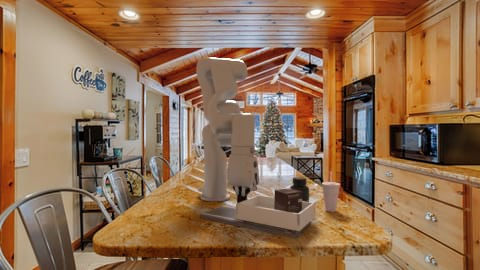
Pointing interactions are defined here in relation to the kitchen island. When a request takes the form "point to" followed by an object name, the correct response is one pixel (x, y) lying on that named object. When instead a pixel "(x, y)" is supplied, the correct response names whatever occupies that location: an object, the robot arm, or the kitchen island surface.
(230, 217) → the rail board
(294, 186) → the supplement bottle
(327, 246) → the kitchen island surface
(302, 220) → the white tray
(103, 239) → the kitchen island surface
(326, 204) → the smoothie
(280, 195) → the box
